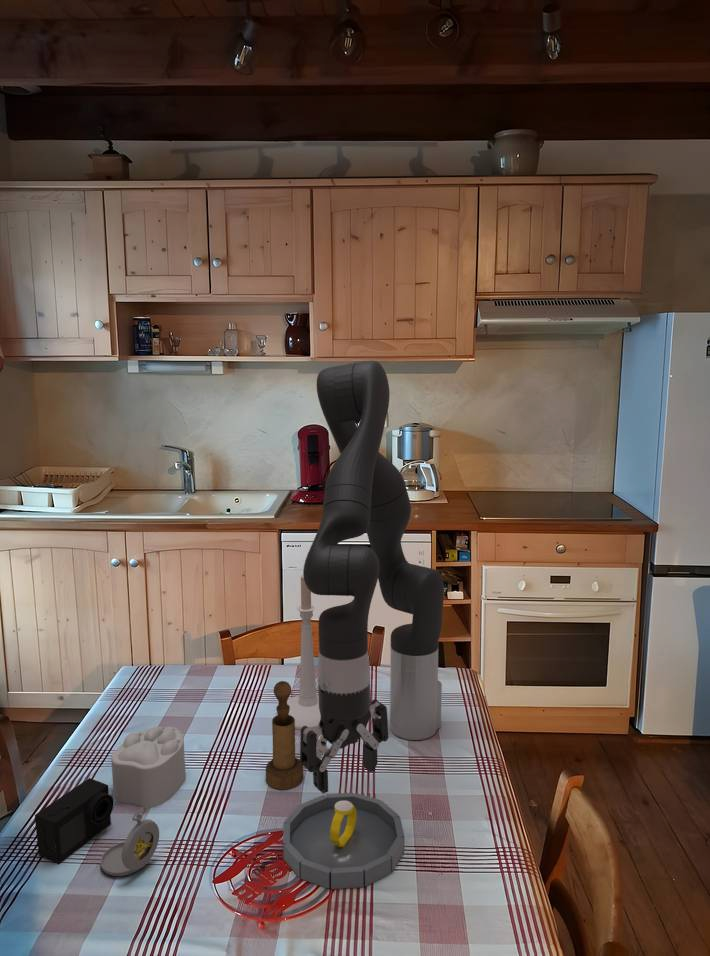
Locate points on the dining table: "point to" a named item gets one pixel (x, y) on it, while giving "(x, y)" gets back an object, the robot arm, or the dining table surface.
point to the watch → (341, 810)
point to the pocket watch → (132, 848)
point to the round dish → (361, 856)
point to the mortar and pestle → (283, 745)
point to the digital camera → (73, 820)
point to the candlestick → (306, 670)
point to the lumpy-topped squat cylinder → (149, 767)
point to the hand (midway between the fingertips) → (346, 779)
